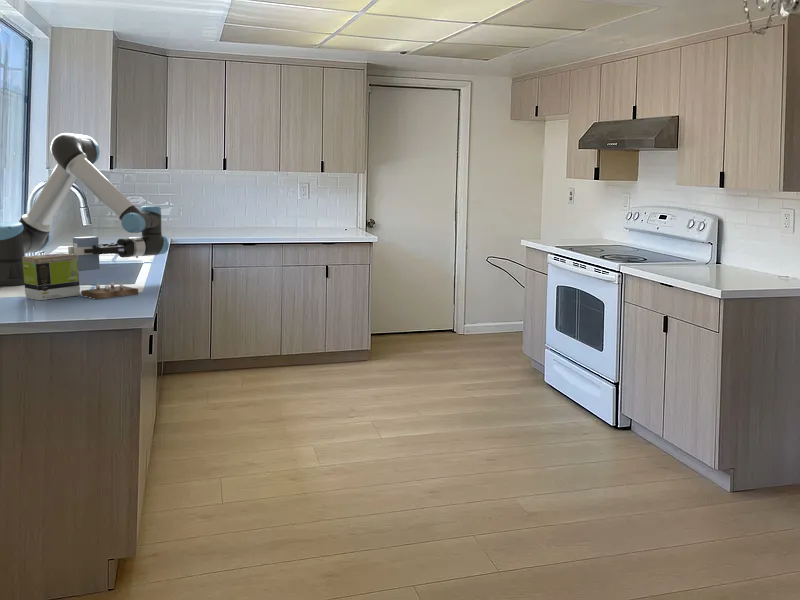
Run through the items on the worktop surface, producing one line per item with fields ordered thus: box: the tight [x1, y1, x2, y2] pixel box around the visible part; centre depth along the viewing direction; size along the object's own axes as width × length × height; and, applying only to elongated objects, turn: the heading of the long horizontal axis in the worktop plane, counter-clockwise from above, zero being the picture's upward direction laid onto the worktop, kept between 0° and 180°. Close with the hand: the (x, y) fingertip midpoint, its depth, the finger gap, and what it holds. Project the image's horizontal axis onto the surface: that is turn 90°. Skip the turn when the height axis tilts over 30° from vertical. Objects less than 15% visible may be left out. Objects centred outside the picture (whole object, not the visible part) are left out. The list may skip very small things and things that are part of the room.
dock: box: [80, 285, 139, 300], centre depth 273 cm, size 16×10×2 cm, turn 141°
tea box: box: [22, 252, 81, 301], centre depth 266 cm, size 15×10×15 cm
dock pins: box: [95, 281, 124, 292], centre depth 272 cm, size 7×7×2 cm
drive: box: [72, 235, 101, 272], centre depth 281 cm, size 8×4×12 cm, turn 141°
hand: (72, 251), depth 277 cm, fingers closed on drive, 3 cm apart
